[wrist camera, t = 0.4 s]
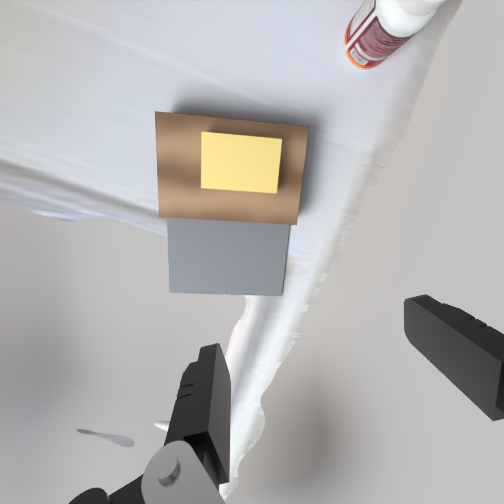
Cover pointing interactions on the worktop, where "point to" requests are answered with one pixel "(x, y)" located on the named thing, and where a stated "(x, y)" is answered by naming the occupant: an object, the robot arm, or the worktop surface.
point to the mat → (226, 257)
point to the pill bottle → (384, 28)
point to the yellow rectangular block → (240, 162)
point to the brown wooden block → (215, 200)
